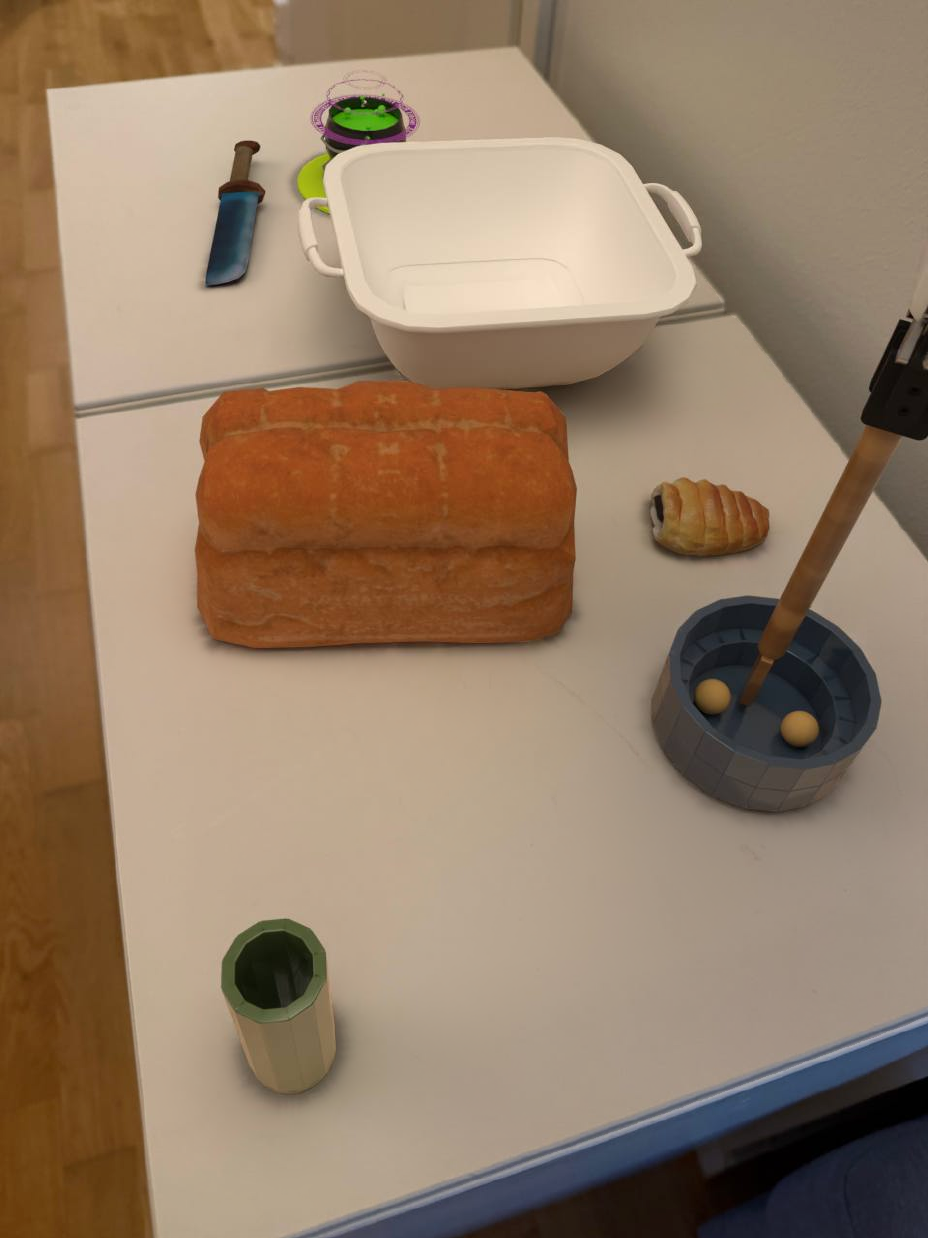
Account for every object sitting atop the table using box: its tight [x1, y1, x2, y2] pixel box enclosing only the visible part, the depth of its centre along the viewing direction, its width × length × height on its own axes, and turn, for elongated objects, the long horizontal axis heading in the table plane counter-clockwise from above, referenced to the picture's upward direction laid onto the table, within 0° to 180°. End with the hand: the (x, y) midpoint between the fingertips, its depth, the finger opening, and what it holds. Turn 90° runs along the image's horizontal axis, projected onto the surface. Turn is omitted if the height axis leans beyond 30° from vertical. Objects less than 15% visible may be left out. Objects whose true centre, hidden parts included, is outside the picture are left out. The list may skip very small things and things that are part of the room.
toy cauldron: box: [296, 69, 421, 215], centre depth 106 cm, size 15×15×11 cm
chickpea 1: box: [694, 679, 731, 714], centre depth 68 cm, size 2×2×2 cm
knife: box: [204, 139, 266, 287], centre depth 103 cm, size 24×3×5 cm
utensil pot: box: [220, 918, 337, 1095], centre depth 49 cm, size 5×5×12 cm
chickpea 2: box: [781, 711, 819, 747], centre depth 67 cm, size 2×2×2 cm
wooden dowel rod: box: [739, 324, 928, 707], centre depth 57 cm, size 2×2×30 cm
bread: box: [194, 380, 578, 649], centre depth 69 cm, size 14×27×15 cm, turn 94°
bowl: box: [651, 595, 882, 812], centre depth 66 cm, size 13×13×6 cm
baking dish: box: [297, 136, 703, 390], centre depth 89 cm, size 34×28×13 cm
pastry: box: [649, 476, 770, 557], centre depth 79 cm, size 9×7×4 cm
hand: (896, 411), depth 49 cm, fingers closed on wooden dowel rod, 1 cm apart
